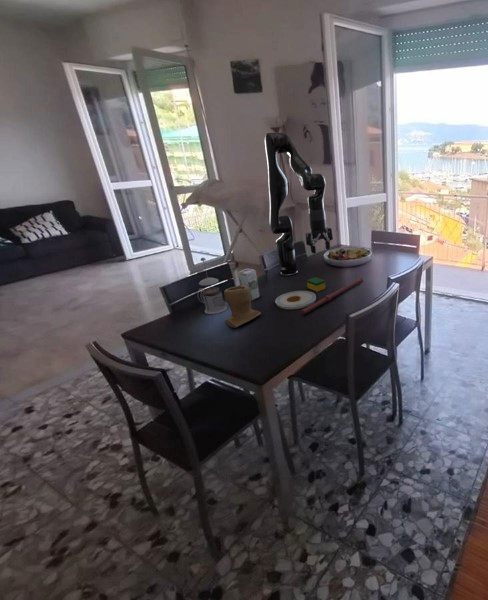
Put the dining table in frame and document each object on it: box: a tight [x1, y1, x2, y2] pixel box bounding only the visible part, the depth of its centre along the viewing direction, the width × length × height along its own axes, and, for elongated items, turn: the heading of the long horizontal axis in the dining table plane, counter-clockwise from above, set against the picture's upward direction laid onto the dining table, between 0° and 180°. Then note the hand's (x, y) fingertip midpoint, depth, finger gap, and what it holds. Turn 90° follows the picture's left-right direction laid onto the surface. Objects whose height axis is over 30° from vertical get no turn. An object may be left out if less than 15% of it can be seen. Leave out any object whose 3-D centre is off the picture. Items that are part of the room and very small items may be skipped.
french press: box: [197, 257, 228, 315], centre depth 159 cm, size 10×12×25 cm
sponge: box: [306, 276, 327, 293], centre depth 185 cm, size 8×6×4 cm
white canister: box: [237, 268, 261, 302], centre depth 172 cm, size 6×6×14 cm
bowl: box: [323, 246, 373, 268], centre depth 225 cm, size 30×30×8 cm
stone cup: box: [223, 285, 262, 329], centre depth 151 cm, size 15×12×15 cm
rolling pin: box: [300, 277, 364, 316], centre depth 174 cm, size 45×3×3 cm, turn 151°
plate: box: [274, 290, 317, 310], centre depth 172 cm, size 19×19×1 cm
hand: (320, 251), depth 175 cm, fingers open, 8 cm apart
